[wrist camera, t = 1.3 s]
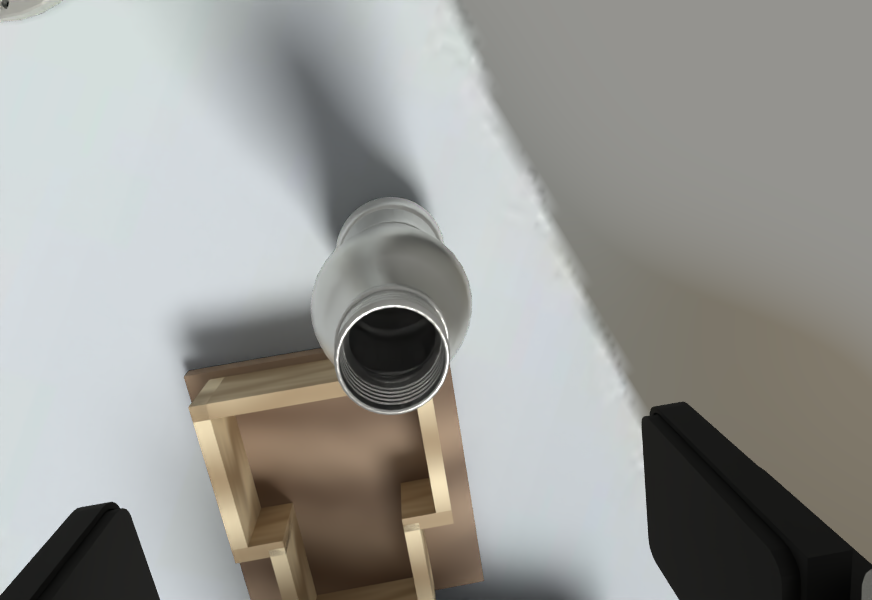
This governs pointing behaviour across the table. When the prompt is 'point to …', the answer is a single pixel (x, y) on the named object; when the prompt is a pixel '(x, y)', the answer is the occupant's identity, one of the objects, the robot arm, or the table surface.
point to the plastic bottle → (391, 306)
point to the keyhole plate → (333, 484)
